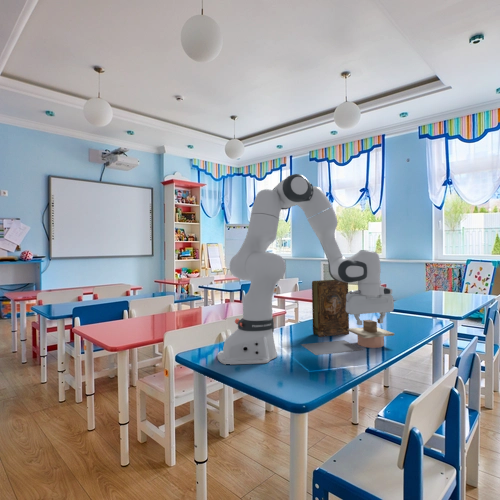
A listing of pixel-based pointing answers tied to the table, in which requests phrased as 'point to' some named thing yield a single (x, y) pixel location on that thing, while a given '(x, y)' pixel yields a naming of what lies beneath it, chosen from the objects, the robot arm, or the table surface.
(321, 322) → the book
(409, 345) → the table surface
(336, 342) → the mat
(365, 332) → the board
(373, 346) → the bowl
